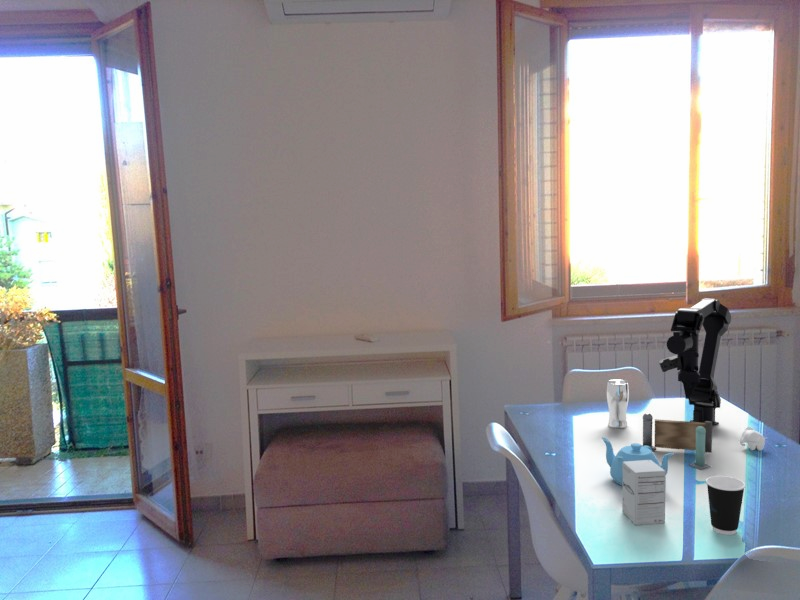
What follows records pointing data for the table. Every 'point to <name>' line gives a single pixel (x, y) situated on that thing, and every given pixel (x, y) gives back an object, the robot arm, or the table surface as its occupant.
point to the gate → (681, 434)
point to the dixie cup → (725, 503)
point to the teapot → (630, 458)
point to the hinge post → (647, 431)
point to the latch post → (700, 449)
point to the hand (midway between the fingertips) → (687, 397)
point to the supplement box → (643, 492)
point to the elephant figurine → (752, 439)
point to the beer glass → (617, 403)
